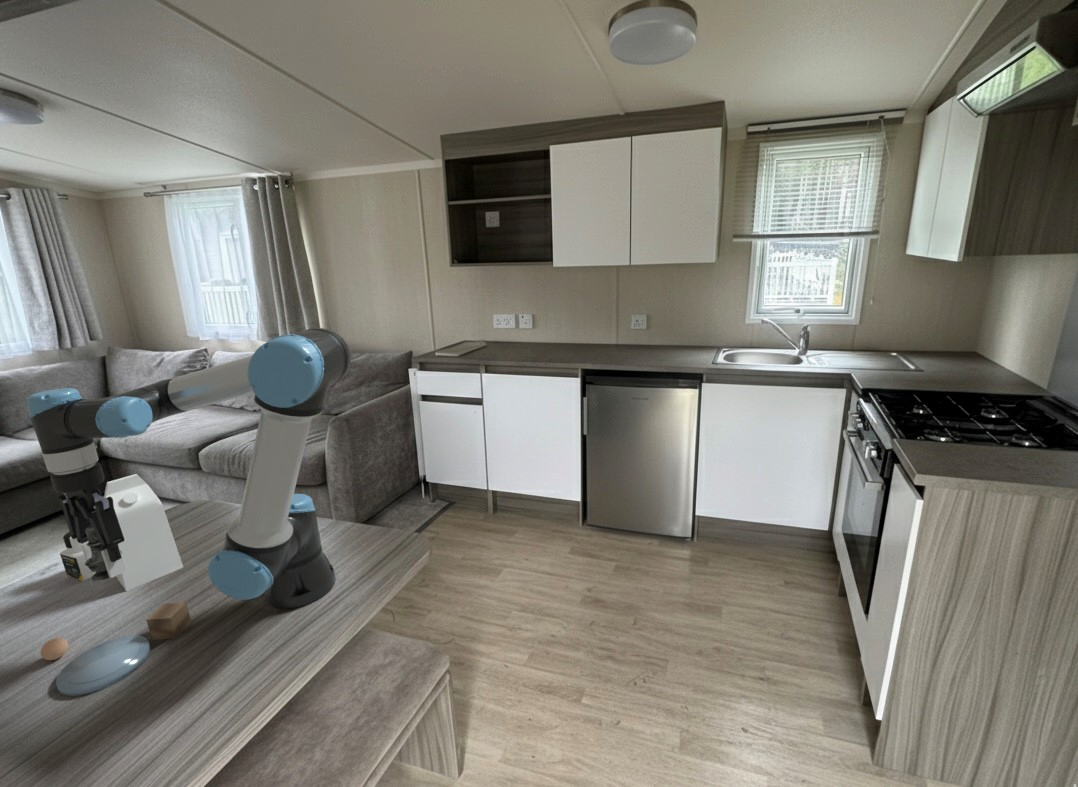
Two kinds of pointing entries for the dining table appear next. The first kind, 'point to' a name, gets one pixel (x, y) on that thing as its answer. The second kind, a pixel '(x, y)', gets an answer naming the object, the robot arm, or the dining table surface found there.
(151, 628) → the walnut block
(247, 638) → the dining table surface
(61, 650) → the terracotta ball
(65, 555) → the medicine bottle
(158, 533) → the milk
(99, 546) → the stone chess piece
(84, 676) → the plate
